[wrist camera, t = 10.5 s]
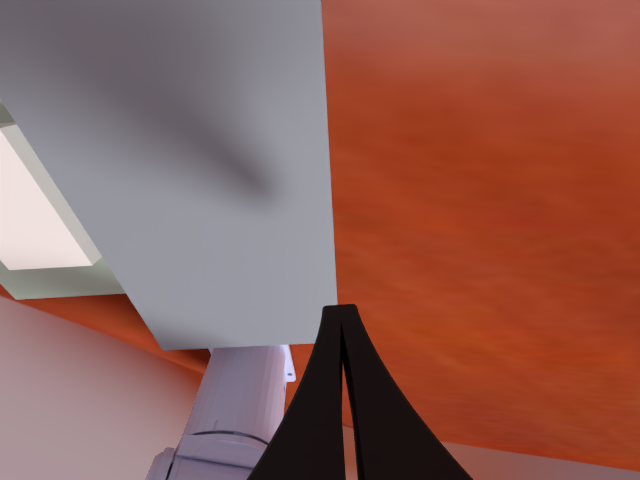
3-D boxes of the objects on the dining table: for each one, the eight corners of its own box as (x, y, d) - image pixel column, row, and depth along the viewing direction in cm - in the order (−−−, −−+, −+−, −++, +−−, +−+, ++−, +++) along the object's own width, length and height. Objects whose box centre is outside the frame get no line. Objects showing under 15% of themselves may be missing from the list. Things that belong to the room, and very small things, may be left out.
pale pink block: (9, 270, 19) (33, 253, 21) (92, 265, 19) (110, 248, 21) (-112, 136, 14) (-67, 128, 16) (-1, 128, 14) (33, 120, 16)
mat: (165, 287, 23) (163, 291, 23) (20, 296, 24) (15, 299, 24) (-6, -37, 12) (-15, -40, 12) (-272, -10, 13) (-288, -12, 12)
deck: (336, 303, 25) (339, 342, 21) (183, 311, 25) (163, 350, 22) (313, -107, 11) (311, -174, 8) (-12, -71, 12) (-142, -121, 8)
